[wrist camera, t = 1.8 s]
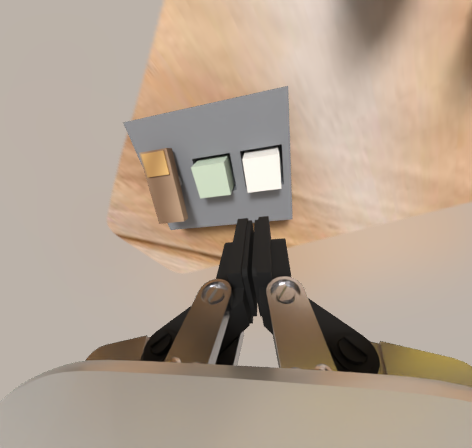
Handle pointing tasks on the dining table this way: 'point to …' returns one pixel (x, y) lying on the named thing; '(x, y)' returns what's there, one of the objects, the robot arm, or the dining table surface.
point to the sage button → (213, 176)
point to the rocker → (164, 185)
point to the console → (223, 153)
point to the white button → (262, 169)
